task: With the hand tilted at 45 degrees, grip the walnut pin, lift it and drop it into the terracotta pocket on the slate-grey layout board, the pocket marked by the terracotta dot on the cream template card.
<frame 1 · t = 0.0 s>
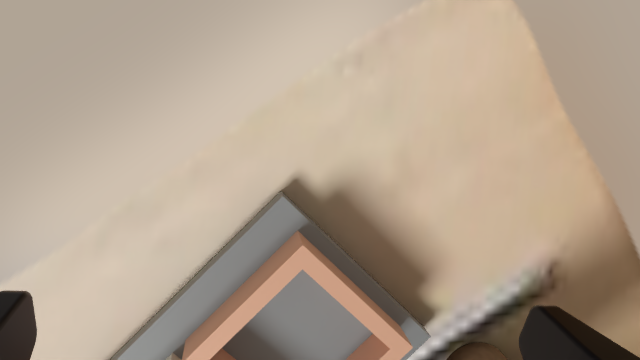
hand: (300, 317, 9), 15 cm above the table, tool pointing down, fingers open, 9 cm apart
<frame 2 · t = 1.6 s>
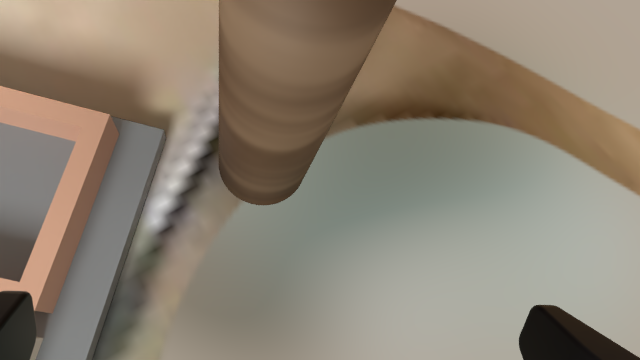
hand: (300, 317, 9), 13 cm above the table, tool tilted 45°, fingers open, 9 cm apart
walnut pin: (262, 163, 23), on the table
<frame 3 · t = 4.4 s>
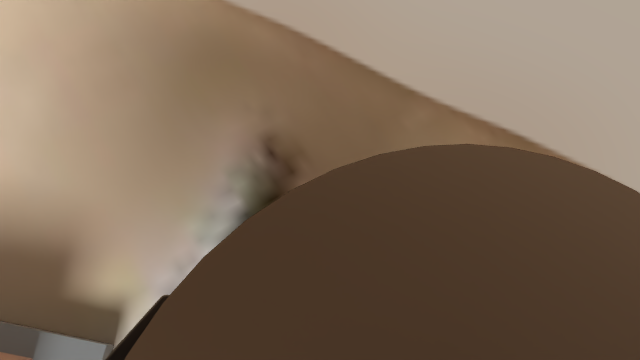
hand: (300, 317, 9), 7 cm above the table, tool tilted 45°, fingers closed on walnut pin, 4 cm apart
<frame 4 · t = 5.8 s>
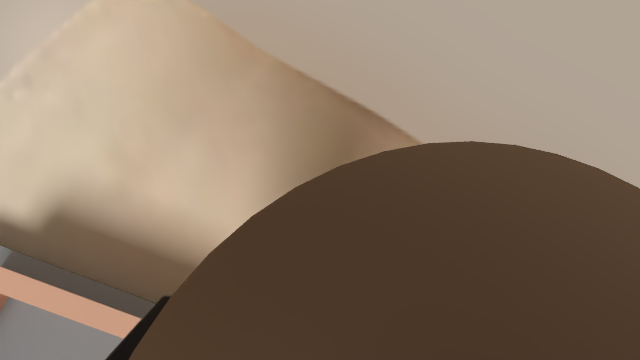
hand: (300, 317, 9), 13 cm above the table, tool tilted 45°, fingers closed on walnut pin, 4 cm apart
when the fingers open (10 cm above the table, at t = 7.5 s): walnut pin drops 1 cm, resting on layout board.
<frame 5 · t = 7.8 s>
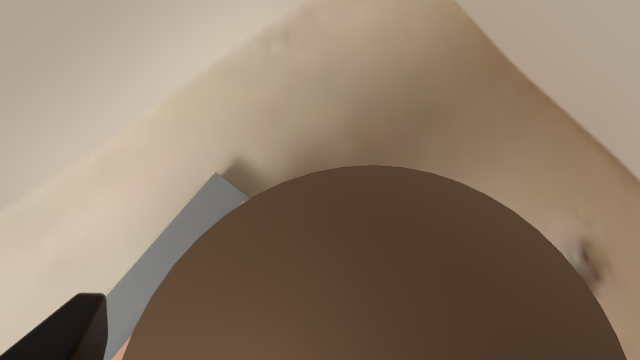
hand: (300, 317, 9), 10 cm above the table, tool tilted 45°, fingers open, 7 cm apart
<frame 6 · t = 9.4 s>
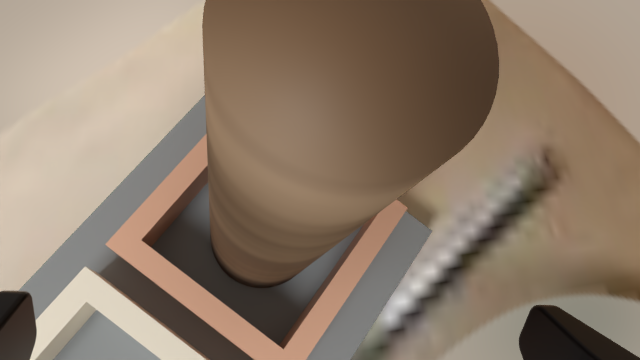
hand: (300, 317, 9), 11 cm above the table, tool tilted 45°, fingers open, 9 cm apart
walnut pin: (262, 235, 20), point 1 cm above the table, touching layout board
layout board: (169, 356, 19), on the table
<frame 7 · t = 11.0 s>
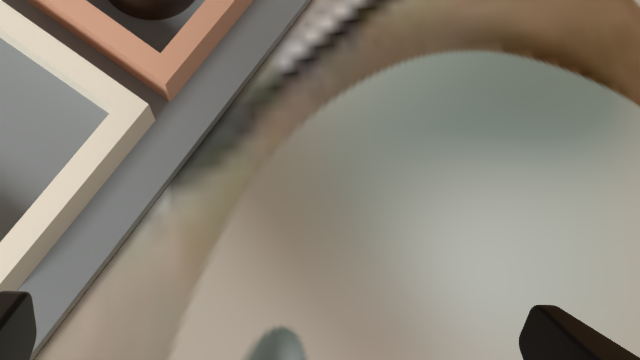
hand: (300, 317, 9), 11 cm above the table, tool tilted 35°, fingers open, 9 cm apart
layout board: (63, 85, 20), on the table
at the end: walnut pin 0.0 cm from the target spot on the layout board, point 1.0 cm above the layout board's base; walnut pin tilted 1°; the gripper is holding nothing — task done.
